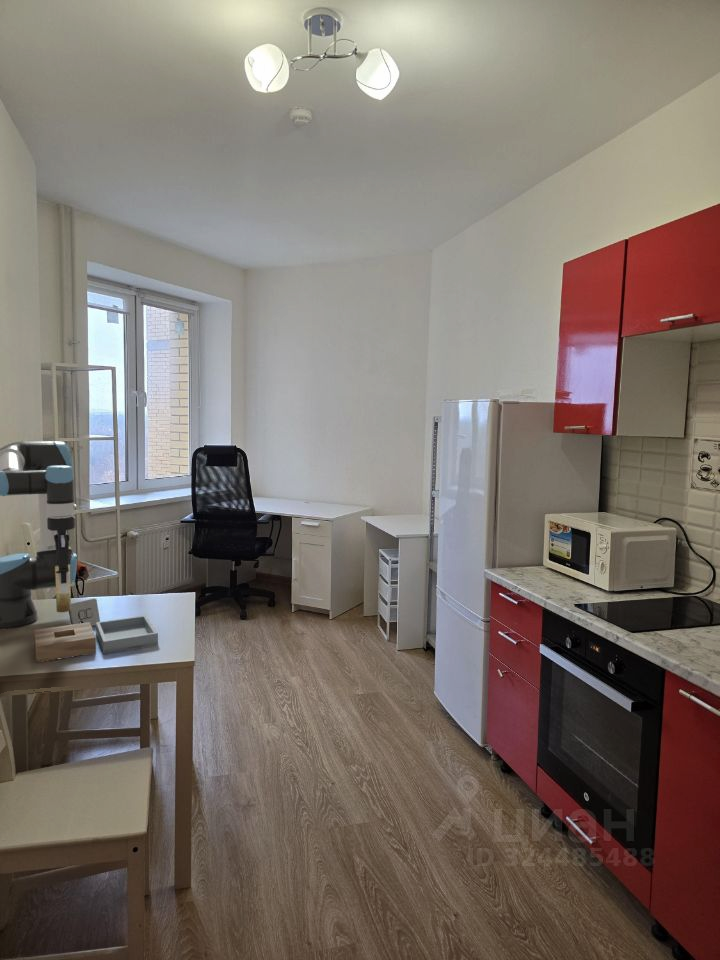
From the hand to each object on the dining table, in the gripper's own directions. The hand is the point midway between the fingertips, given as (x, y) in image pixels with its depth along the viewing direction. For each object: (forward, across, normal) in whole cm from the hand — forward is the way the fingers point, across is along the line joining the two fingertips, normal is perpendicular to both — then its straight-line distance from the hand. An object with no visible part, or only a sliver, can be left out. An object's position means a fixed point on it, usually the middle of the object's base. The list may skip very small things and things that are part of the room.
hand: (63, 590), depth 184 cm
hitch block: (+19, 0, 0) cm, 19 cm away
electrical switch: (+19, +20, -7) cm, 28 cm away
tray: (+19, 0, -18) cm, 26 cm away
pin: (+6, 0, 0) cm, 6 cm away
